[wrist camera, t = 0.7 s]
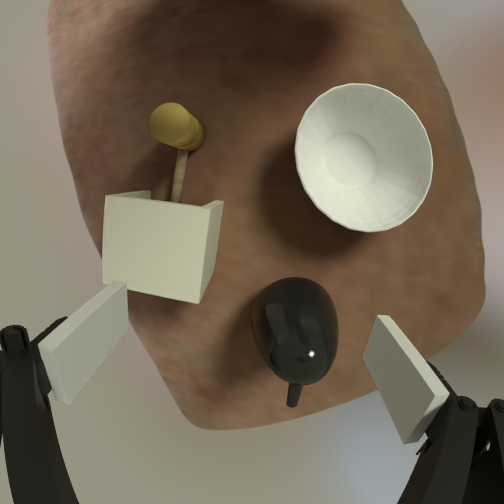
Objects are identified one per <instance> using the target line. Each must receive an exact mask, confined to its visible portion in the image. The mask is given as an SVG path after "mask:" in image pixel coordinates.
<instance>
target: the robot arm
mask: <svg viewBox="0 0 504 504" xmlns="http://www.w3.org/2000/svg"><path fill="white" fill-rule="evenodd" d="M128 329H129V320H128V302H127V282H122V281H116V280H114V281H112V282H111V283H110V284H109V285H107V286H106V287H105V288H104V289H102V290H101V291H100V292H99V293H97V294H96V295H95V296H94V297H93V298H91V299H90V300H89V301H88V302H86V303H85V304H84V305H83V306H82V307H80V308H79V309H78V310H77V311H76V312H74V313H73V314H72V315H71V316H70V317H63V318H60V319H58V320H56V321H55V322H54V323H52V324H51V325H50V327H48V328H46V329H45V331H43V332H42V333H41V334H39V335H38V336H37V337H36V338H35V339H34V340H32V341H31V342H30V341H29V337H28V333H27V329H26V328H24V327H23V326H20V325H11V326H7V327H5V328H3V329H2V330H1V331H0V344H1V348H2V351H1V350H0V446H1V439H2V434H3V442H4V451H5V459H6V466H7V472H8V478H9V484H10V488H11V493H12V497H13V502H14V504H79V502H78V500H77V497H76V495H75V492H74V489H73V487H72V484H71V481H70V478H69V475H68V472H67V469H66V466H65V463H64V460H63V457H62V453H61V449H60V446H59V443H58V439H57V434H56V430H55V426H54V421H53V417H52V412H51V406H50V401H49V398H48V396H47V394H48V393H49V392H50V391H51V390H52V391H53V394H54V397H55V399H56V400H58V401H60V402H62V403H64V404H67V405H69V406H71V404H72V403H73V402H74V400H75V399H76V397H77V396H78V395H79V393H80V392H81V391H82V389H83V388H84V387H85V385H86V384H87V382H88V381H89V379H90V378H91V377H92V375H93V374H94V373H95V372H96V370H97V369H98V367H99V366H100V365H101V364H102V362H103V361H104V360H105V358H106V357H107V356H108V354H109V353H110V352H111V351H112V349H113V348H114V347H115V345H116V344H117V343H118V341H119V340H120V339H121V338H122V336H123V335H124V334H125V333H126V331H127V330H128ZM362 358H363V360H364V362H365V364H366V366H367V368H368V370H369V372H370V374H371V376H372V378H373V380H374V382H375V384H376V386H377V388H378V390H379V392H380V394H381V397H382V399H383V401H384V403H385V405H386V407H387V409H388V411H389V413H390V415H391V417H392V420H393V422H394V424H395V426H396V429H397V431H398V433H399V435H400V437H401V440H402V442H403V444H408V443H413V442H418V441H419V439H420V438H421V437H422V436H423V434H424V433H426V435H427V437H428V439H427V440H426V441H425V443H424V444H423V446H422V447H421V448H420V449H419V450H418V452H417V453H416V455H418V454H419V453H420V452H421V453H420V455H419V458H418V460H417V463H416V465H415V467H414V470H413V472H412V474H411V476H410V479H409V481H408V483H407V485H406V487H405V489H404V491H403V493H402V495H401V497H400V499H399V501H398V503H397V504H504V400H501V399H493V400H492V401H491V402H490V404H489V405H488V407H487V408H482V407H478V406H477V405H476V403H475V402H474V401H473V400H471V399H470V398H468V397H465V396H457V395H456V393H455V392H454V391H453V389H452V388H451V387H450V385H449V384H448V383H447V381H446V380H444V377H443V376H442V375H440V372H439V371H438V370H437V368H436V367H435V366H433V365H432V364H431V363H429V362H428V361H425V360H424V359H423V357H422V356H421V355H420V354H419V352H418V351H417V350H416V348H415V347H414V346H413V345H412V343H411V342H410V341H409V340H408V338H407V337H406V336H405V335H404V333H403V332H402V331H401V330H400V329H399V327H398V326H397V325H396V324H395V322H394V321H393V320H392V319H391V318H390V316H385V315H377V316H376V319H375V322H374V326H373V329H372V332H371V334H370V337H369V340H368V343H367V346H366V349H365V351H364V354H363V357H362ZM489 443H490V448H489V450H488V451H487V445H488V444H489Z"/></svg>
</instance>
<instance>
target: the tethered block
mask: <svg viewBox="0 0 504 504" xmlns="http://www.w3.org/2000/svg"><path fill="white" fill-rule="evenodd" d="M149 131H150V134H151V135H152V137H153V138H154V139H156V140H157V141H159V142H162V143H165V144H168V145H170V146H173V147H176V148H178V153H177V159H176V166H175V173H174V180H173V187H172V194H171V202H173V203H181V195H182V188H183V181H184V174H185V168H186V161H187V155H188V151H194V150H197V149H198V148H200V147H201V146H202V145H203V143H204V141H205V138H206V131H205V128H204V127H203V125H202V124H201V123H200V122H199V121H198V120H197V119H196V118H194V117H193V116H192V115H191V114H190V113H189V112H188V111H187V110H186V109H185V108H184V107H183V106H181V105H180V104H177V103H165V104H162V105H160V106H159V107H157V108H156V109H155V110H154V111H153V113H152V114H151V116H150V119H149Z"/></svg>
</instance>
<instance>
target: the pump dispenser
mask: <svg viewBox="0 0 504 504" xmlns="http://www.w3.org/2000/svg"><path fill="white" fill-rule="evenodd" d="M251 327H252V332H253V336H254V339H255V342H256V345H257V347H258V350H259V352H260V354H261V356H262V357H263V359H264V361H265V362H266V364H267V365H268V367H269V368H270V369H271V370H272V371H273V372H274V373H275V374H276V375H277V376H278V377H279V378H281V379H282V380H284V381H286V382H288V383H289V387H288V396H287V406H288V407H291V408H294V407H296V406H297V404H298V400H299V397H300V394H301V390H302V387H303V386H304V385H310V384H313V383H316V382H318V381H319V380H321V379H322V378H323V377H324V376H325V375H326V374H327V373H328V371H329V370H330V368H331V366H332V364H333V362H334V360H335V357H336V353H337V348H338V334H339V330H338V319H337V313H336V309H335V306H334V303H333V301H332V299H331V297H330V295H329V294H328V292H327V291H326V290H325V289H324V288H323V287H322V286H321V285H319V284H318V283H316V282H314V281H312V280H310V279H306V278H301V277H290V278H284V279H281V280H278V281H276V282H274V283H272V284H270V285H269V286H267V287H266V288H265V289H264V290H263V291H262V292H261V293H260V294H259V295H258V297H257V298H256V300H255V302H254V304H253V307H252V311H251Z"/></svg>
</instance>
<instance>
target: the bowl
mask: <svg viewBox="0 0 504 504" xmlns="http://www.w3.org/2000/svg"><path fill="white" fill-rule="evenodd" d="M294 151H295V159H296V167H297V172H298V175H299V177H300V180H301V182H302V185H303V188H304V190H305V191H306V193H307V194H308V196H309V197H310V198H311V200H312V201H313V203H314V204H315V205H316V207H317V208H318V209H319V210H320V211H322V212H323V213H324V214H325V215H326V216H327V217H329V218H330V219H331V220H332V221H334V222H336V223H338V224H340V225H342V226H344V227H346V228H348V229H351V230H357V231H363V232H376V231H385V230H388V229H390V228H393V227H395V226H398V225H400V224H402V223H403V222H404V221H406V220H407V219H408V218H409V217H410V216H412V215H413V214H414V213H415V212H416V210H417V209H418V208H419V206H420V205H421V203H422V202H423V201H424V199H425V197H426V194H427V192H428V189H429V186H430V184H431V177H432V169H433V160H432V151H431V145H430V142H429V139H428V136H427V133H426V130H425V128H424V126H423V125H422V123H421V122H420V120H419V118H418V117H417V115H416V114H415V112H414V111H413V110H412V109H411V108H410V107H409V106H408V105H407V104H406V103H405V102H404V101H403V100H402V99H400V98H399V97H397V96H396V95H394V94H392V93H391V92H389V91H388V90H386V89H383V88H380V87H377V86H373V85H370V84H355V83H350V84H346V85H342V86H338V87H334V88H332V89H330V90H328V91H327V92H325V93H324V94H322V95H320V96H319V97H317V98H316V100H315V101H314V102H313V103H312V104H311V105H310V107H309V108H308V109H307V110H306V111H305V113H304V115H303V118H302V120H301V122H300V124H299V127H298V129H297V135H296V142H295V150H294Z"/></svg>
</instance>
